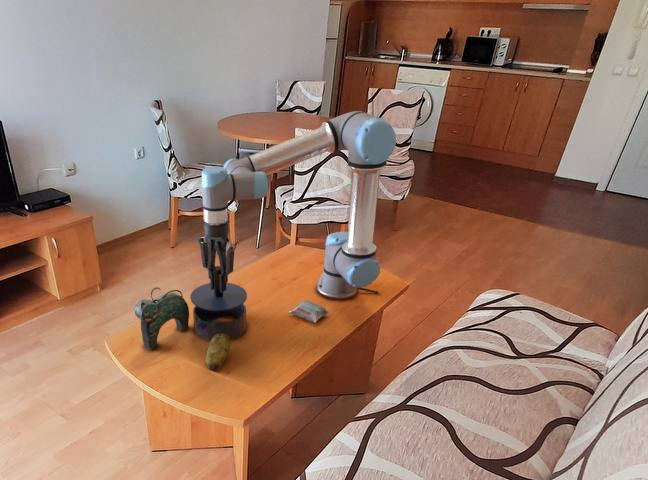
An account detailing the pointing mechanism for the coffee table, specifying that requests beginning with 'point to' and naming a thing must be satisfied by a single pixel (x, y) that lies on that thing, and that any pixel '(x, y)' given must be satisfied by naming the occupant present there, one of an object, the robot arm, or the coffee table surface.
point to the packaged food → (309, 311)
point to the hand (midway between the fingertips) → (218, 289)
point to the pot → (210, 329)
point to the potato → (217, 351)
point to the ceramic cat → (161, 315)
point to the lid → (218, 295)
